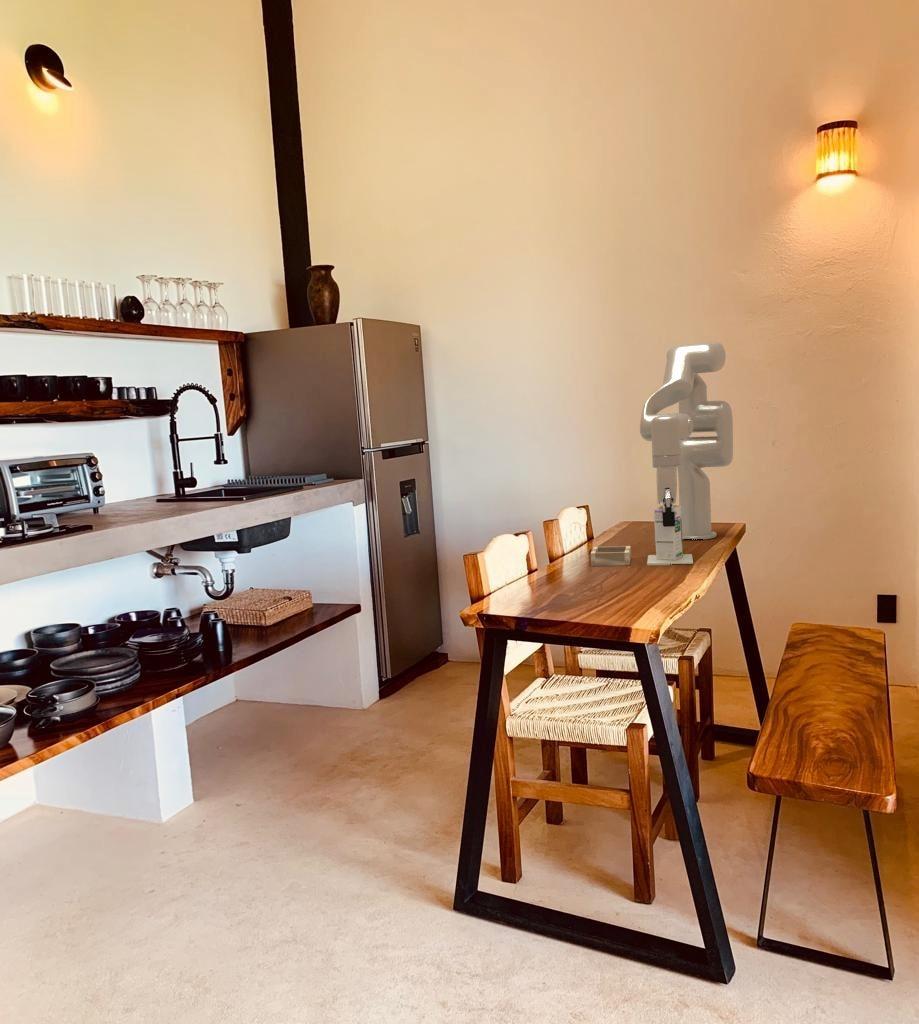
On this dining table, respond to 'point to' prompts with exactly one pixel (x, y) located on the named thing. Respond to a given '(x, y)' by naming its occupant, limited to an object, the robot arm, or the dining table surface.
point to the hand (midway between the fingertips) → (669, 523)
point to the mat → (683, 560)
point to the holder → (610, 555)
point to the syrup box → (668, 536)
